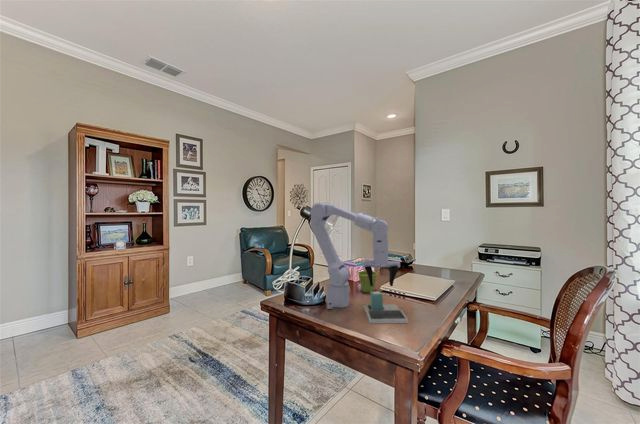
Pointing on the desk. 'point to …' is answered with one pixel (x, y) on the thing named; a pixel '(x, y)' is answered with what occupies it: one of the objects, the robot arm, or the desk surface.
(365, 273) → the plant pot
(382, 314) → the case
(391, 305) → the lid
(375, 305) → the block
